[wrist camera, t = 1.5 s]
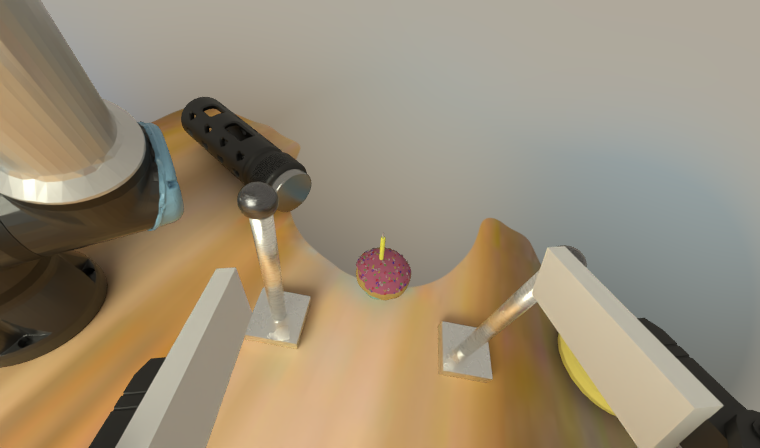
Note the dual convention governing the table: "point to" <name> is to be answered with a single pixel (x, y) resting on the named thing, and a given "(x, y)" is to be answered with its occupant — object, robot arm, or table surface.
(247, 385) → the table surface
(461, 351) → the post
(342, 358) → the table surface
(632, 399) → the robot arm
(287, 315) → the post
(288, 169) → the muzzle brake
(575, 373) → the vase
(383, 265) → the cupcake
